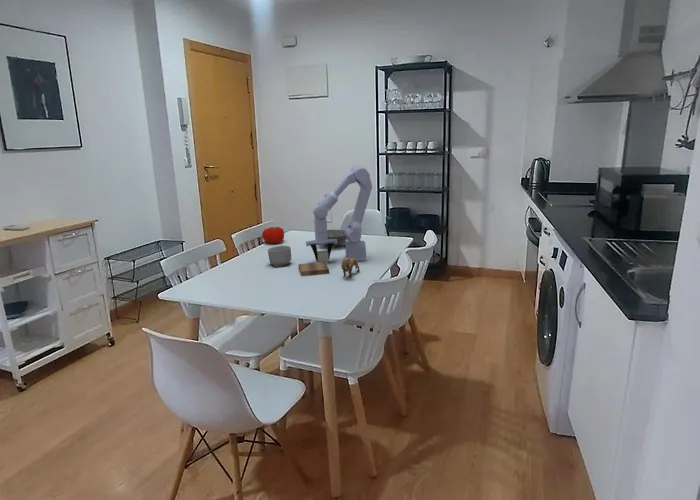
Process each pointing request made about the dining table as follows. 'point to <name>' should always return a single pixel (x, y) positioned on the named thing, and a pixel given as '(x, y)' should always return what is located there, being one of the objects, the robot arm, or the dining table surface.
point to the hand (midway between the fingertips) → (322, 259)
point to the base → (313, 268)
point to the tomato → (273, 235)
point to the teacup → (279, 255)
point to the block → (322, 256)
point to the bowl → (336, 237)
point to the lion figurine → (349, 266)
